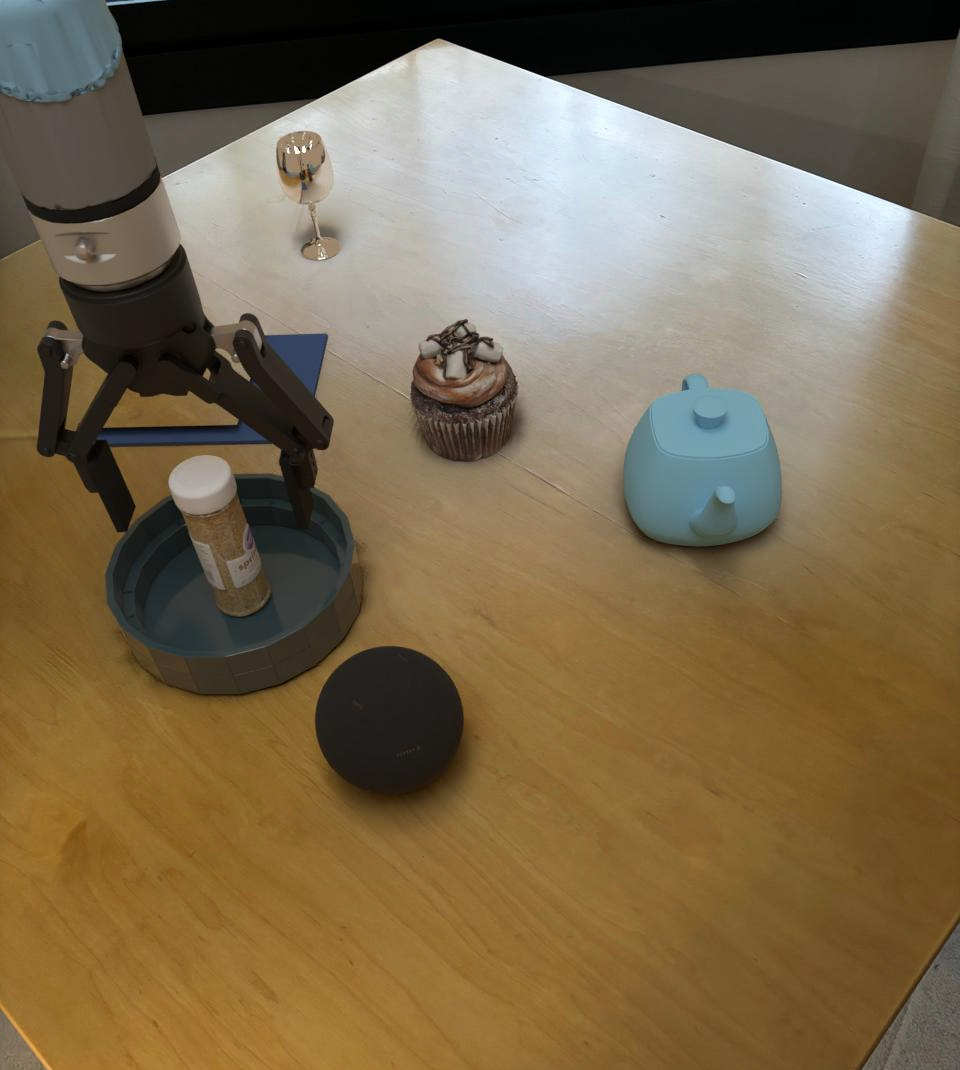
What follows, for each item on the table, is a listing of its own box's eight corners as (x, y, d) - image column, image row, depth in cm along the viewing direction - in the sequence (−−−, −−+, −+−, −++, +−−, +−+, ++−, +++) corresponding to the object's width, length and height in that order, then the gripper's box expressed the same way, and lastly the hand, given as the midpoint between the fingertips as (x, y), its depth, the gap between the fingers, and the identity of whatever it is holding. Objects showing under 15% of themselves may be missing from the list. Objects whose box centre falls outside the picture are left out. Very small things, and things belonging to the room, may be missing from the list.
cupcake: (393, 438, 98) (377, 346, 90) (466, 384, 102) (457, 292, 94) (469, 483, 94) (460, 391, 86) (542, 426, 98) (539, 333, 90)
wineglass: (357, 242, 119) (338, 135, 109) (325, 268, 116) (303, 161, 107) (316, 229, 121) (294, 123, 112) (284, 255, 118) (259, 149, 109)
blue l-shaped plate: (93, 447, 100) (92, 443, 100) (135, 342, 110) (134, 338, 110) (304, 442, 98) (303, 439, 98) (328, 336, 108) (327, 333, 108)
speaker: (379, 682, 81) (359, 596, 73) (494, 734, 77) (485, 649, 69) (301, 784, 76) (270, 702, 68) (420, 845, 72) (402, 766, 64)
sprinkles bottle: (275, 612, 85) (233, 488, 75) (218, 624, 85) (167, 502, 74) (269, 571, 88) (228, 446, 78) (213, 582, 88) (165, 459, 77)
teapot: (642, 502, 76) (617, 346, 87) (635, 601, 84) (613, 447, 95) (822, 491, 75) (774, 336, 86) (797, 592, 83) (756, 438, 95)
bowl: (98, 697, 82) (75, 657, 78) (157, 517, 94) (139, 475, 90) (347, 697, 80) (336, 656, 76) (375, 514, 92) (366, 471, 88)
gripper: (-108, 303, 61) (38, 557, 78) (320, 287, 59) (377, 551, 76) (-61, 232, 66) (67, 485, 83) (338, 214, 64) (387, 478, 80)
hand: (215, 517), depth 79 cm, fingers open, 13 cm apart
